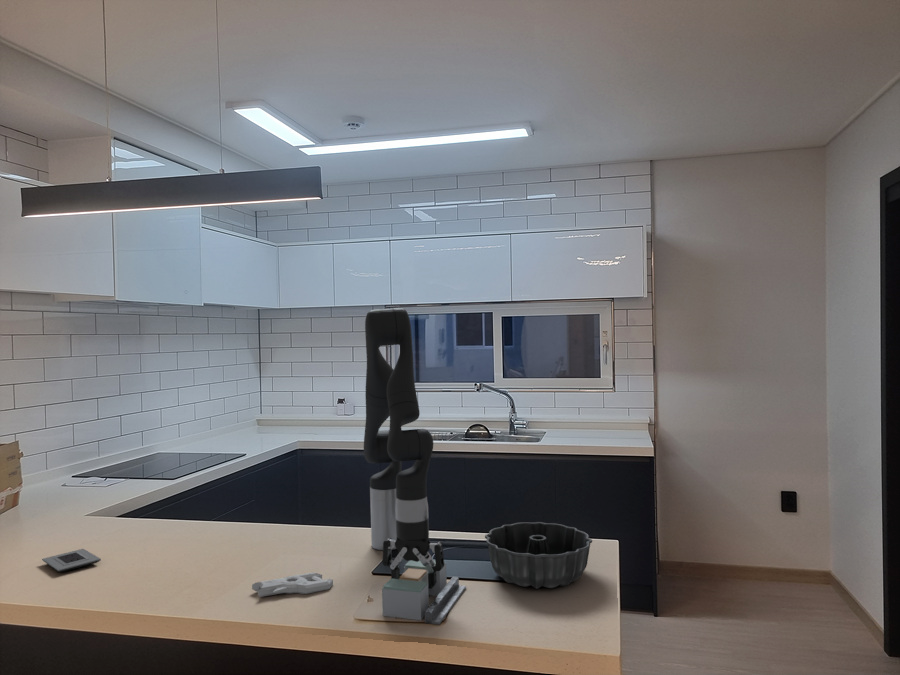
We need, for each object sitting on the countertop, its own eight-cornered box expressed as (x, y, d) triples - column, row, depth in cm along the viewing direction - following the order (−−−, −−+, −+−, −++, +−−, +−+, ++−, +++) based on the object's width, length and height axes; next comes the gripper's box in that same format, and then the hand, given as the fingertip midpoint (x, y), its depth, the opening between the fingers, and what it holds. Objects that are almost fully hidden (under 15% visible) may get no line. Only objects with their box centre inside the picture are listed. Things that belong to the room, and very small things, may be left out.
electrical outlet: (42, 566, 185) (41, 557, 185) (83, 555, 193) (83, 547, 193) (58, 578, 176) (58, 569, 176) (101, 566, 184) (100, 557, 184)
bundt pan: (567, 553, 184) (567, 517, 184) (611, 590, 158) (610, 548, 158) (474, 563, 179) (473, 525, 178) (503, 603, 153) (502, 559, 153)
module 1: (408, 595, 159) (407, 567, 159) (428, 597, 157) (427, 569, 157) (399, 605, 153) (398, 577, 153) (419, 607, 152) (418, 579, 151)
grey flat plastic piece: (262, 591, 155) (250, 578, 163) (262, 606, 155) (250, 592, 163) (337, 577, 164) (322, 566, 173) (336, 592, 164) (322, 579, 173)
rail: (453, 586, 163) (452, 576, 163) (465, 588, 162) (465, 577, 162) (425, 623, 144) (424, 611, 144) (439, 624, 143) (439, 613, 143)
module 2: (391, 606, 153) (390, 577, 152) (428, 610, 150) (428, 581, 150) (382, 615, 148) (381, 586, 148) (421, 620, 145) (420, 590, 145)
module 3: (411, 584, 165) (411, 558, 165) (446, 587, 162) (446, 561, 162) (404, 592, 160) (403, 565, 160) (440, 596, 157) (439, 568, 157)
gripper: (446, 513, 156) (448, 582, 157) (389, 509, 160) (391, 576, 161) (436, 523, 149) (437, 595, 149) (376, 518, 153) (378, 589, 154)
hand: (413, 585), depth 155 cm, fingers open, 8 cm apart
